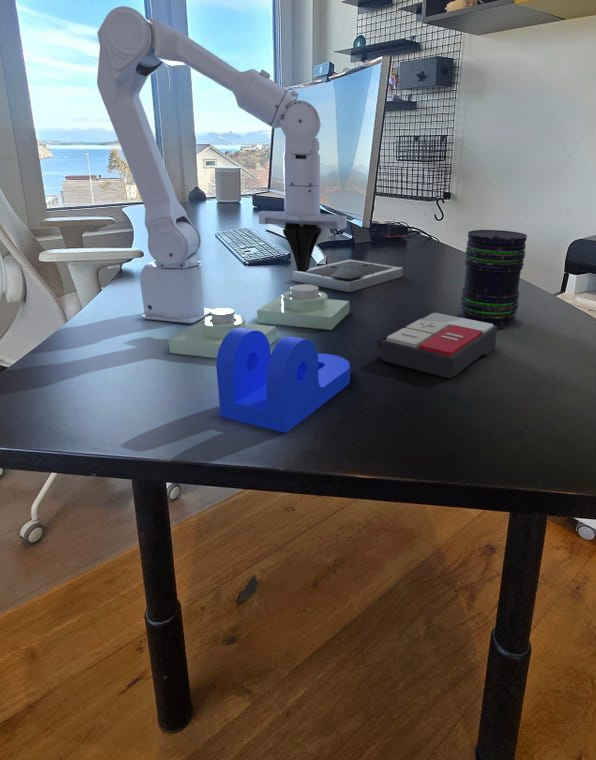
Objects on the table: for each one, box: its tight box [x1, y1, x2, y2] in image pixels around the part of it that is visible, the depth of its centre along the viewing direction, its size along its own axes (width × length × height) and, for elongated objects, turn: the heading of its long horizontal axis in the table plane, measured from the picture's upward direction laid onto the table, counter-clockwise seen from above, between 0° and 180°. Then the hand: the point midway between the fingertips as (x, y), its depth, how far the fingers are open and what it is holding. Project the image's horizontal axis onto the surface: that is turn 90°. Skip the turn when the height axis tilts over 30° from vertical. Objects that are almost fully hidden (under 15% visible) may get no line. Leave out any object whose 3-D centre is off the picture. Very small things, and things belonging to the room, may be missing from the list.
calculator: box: [381, 312, 498, 379], centre depth 79 cm, size 11×4×15 cm
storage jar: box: [459, 229, 528, 329], centre depth 94 cm, size 10×10×15 cm
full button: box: [289, 283, 320, 299], centre depth 94 cm, size 5×5×2 cm
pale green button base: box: [167, 314, 277, 359], centre depth 80 cm, size 12×10×4 cm
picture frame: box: [292, 259, 404, 293], centre depth 125 cm, size 16×3×21 cm
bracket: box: [215, 328, 351, 434], centre depth 64 cm, size 18×8×9 cm, turn 155°
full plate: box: [256, 290, 350, 331], centre depth 95 cm, size 13×11×4 cm
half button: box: [210, 307, 235, 324], centre depth 79 cm, size 3×3×2 cm
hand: (303, 270), depth 92 cm, fingers closed
